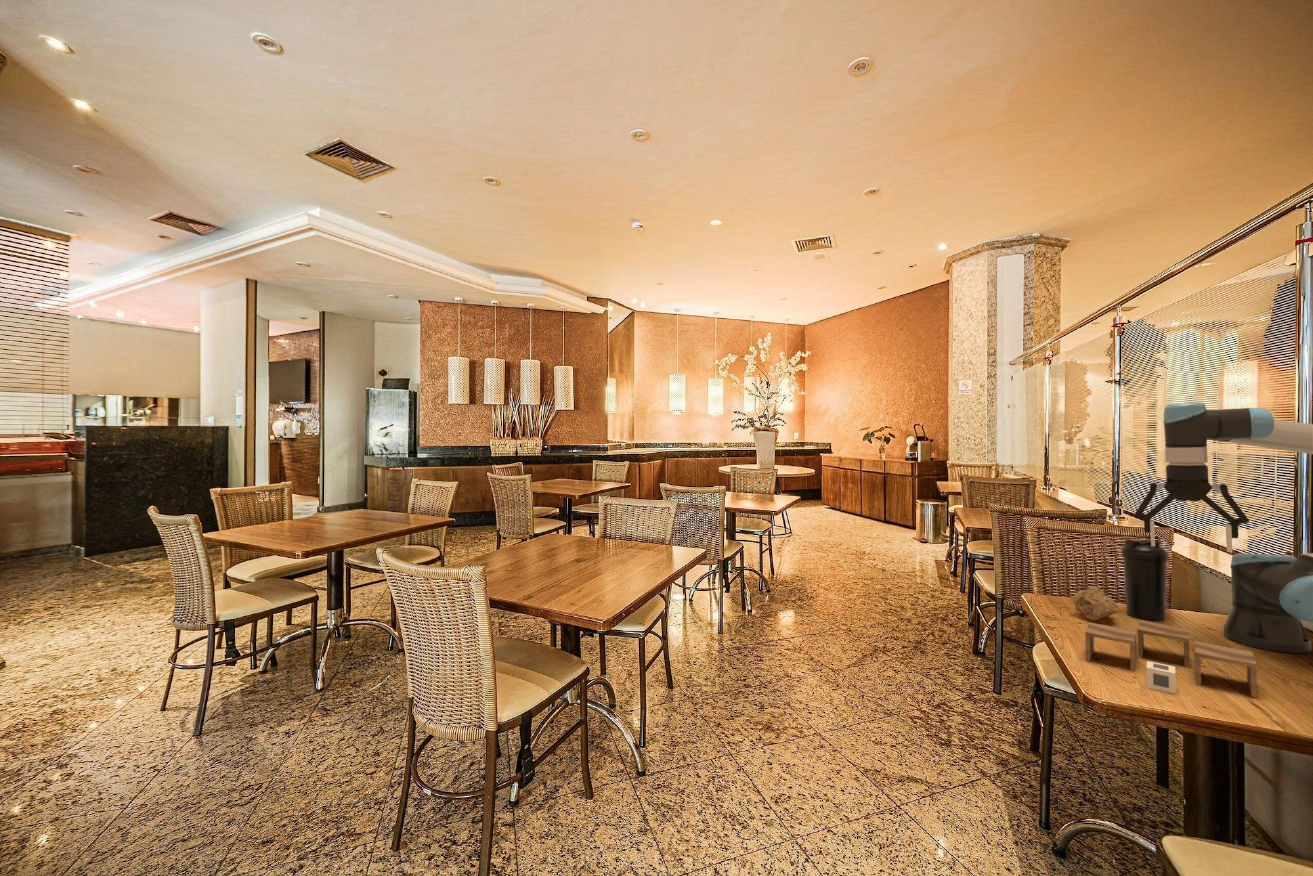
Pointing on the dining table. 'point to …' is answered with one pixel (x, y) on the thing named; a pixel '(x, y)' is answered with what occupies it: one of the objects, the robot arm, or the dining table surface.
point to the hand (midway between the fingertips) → (1190, 548)
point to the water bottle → (1145, 580)
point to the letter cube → (1161, 677)
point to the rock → (1094, 603)
